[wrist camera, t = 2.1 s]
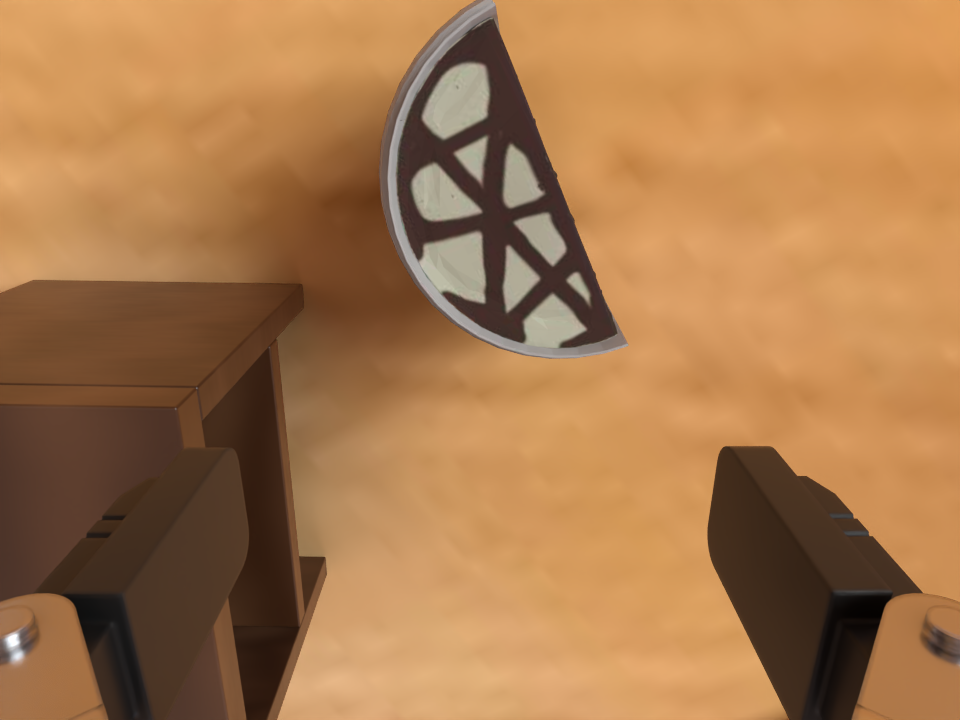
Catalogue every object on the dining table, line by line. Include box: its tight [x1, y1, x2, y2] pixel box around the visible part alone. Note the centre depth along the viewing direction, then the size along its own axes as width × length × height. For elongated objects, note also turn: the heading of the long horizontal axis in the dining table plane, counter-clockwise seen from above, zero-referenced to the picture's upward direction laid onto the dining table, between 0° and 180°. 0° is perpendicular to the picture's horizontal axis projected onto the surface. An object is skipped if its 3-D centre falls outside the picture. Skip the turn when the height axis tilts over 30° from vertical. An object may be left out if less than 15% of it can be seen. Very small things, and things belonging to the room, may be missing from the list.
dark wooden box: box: [0, 280, 327, 720], centre depth 29 cm, size 13×17×14 cm
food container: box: [379, 0, 628, 359], centre depth 26 cm, size 12×6×10 cm, turn 24°
